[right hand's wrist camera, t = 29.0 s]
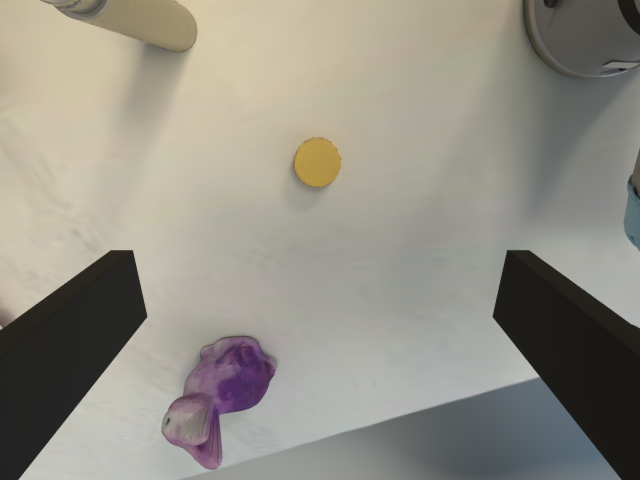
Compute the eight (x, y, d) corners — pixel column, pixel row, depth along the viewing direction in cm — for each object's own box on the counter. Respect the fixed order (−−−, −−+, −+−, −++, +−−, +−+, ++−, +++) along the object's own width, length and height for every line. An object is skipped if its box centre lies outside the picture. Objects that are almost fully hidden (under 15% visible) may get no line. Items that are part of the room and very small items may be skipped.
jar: (205, 30, 34) (103, -32, 18) (178, 61, 35) (58, 29, 19) (172, -8, 32) (31, -110, 17) (145, 26, 33) (-13, -40, 18)
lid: (288, 171, 39) (286, 176, 36) (305, 129, 37) (304, 131, 35) (328, 189, 39) (329, 194, 37) (347, 148, 38) (348, 151, 36)
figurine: (183, 362, 48) (128, 468, 34) (230, 318, 46) (191, 414, 32) (236, 398, 51) (204, 511, 37) (283, 359, 48) (269, 464, 34)
